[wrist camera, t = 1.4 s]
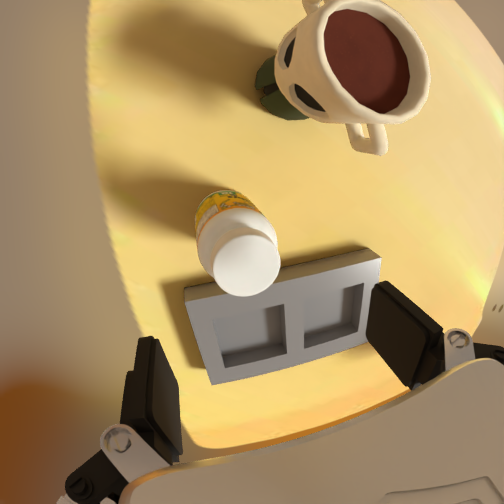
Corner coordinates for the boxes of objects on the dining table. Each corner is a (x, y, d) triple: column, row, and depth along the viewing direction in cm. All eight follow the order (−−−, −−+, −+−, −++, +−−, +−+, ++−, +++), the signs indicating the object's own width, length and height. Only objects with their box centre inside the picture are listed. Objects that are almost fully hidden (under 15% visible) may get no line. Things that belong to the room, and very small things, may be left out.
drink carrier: (184, 287, 26) (184, 302, 24) (368, 248, 29) (381, 257, 27) (209, 369, 31) (211, 385, 29) (359, 329, 34) (368, 341, 32)
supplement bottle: (182, 225, 24) (180, 279, 15) (220, 176, 23) (239, 202, 14) (230, 257, 26) (252, 319, 18) (267, 212, 25) (308, 255, 17)
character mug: (230, 42, 18) (273, -37, 7) (305, 28, 19) (393, -28, 7) (271, 155, 23) (352, 181, 11) (340, 134, 23) (448, 148, 12)
